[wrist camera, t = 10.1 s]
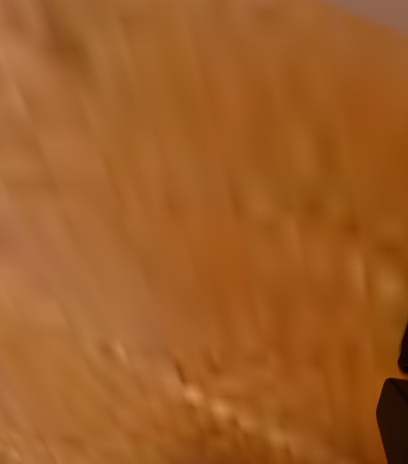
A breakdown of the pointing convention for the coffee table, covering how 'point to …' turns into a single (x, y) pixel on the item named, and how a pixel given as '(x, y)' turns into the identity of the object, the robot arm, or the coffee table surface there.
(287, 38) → the coffee table surface
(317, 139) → the coffee table surface
